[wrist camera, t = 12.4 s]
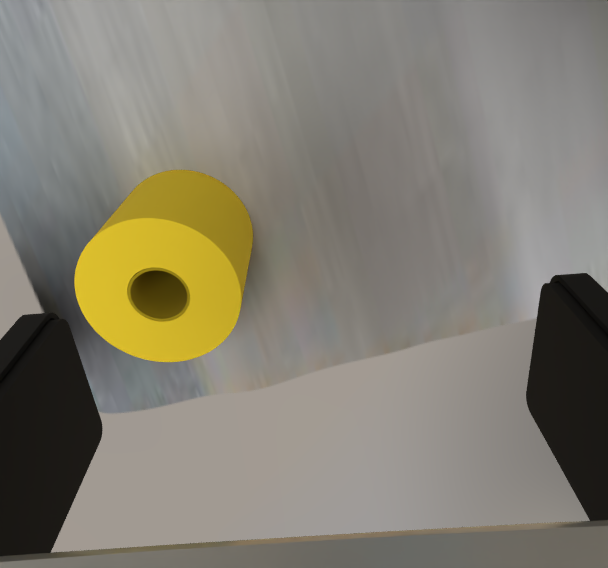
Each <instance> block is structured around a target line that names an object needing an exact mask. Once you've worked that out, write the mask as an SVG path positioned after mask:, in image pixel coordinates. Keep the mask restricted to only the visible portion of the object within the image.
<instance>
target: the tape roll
mask: <svg viewBox="0 0 608 568" xmlns="http://www.w3.org/2000/svg"><path fill="white" fill-rule="evenodd" d="M252 244H253V229H252V224H251V220H250V217H249V214H248V212H247V210H246V208H245V206H244V205H243V203H242V202H241V200H240V199H239V198H238V196H237V195H236V194H235V193H234V192H233V191H232V190H231V189H230V188H228V187H227V186H226V185H225V184H223V183H222V182H220V181H218V180H217V179H215V178H213V177H211V176H208V175H206V174H203V173H200V172H195V171H190V170H171V171H165V172H161V173H158V174H156V175H153V176H151V177H149V178H147V179H146V180H144V181H143V182H141V183H140V184H139V185H138V186H137V187H136V188H135V189H134V190H133V191H132V192H131V193H130V195H129V196H128V197H127V198H126V199H125V201H124V202H123V203H122V204H121V205H120V206H119V208H118V209H117V210H116V211H115V212H114V214H113V215H112V216H111V217H110V218H109V220H108V221H107V222H106V223H105V224H104V225H103V227H102V228H101V229H100V230H99V231H98V233H97V234H96V235H95V236H94V237H93V238H92V240H91V241H90V242H89V243H88V244H87V246H86V247H85V249H84V250H83V252H82V254H81V256H80V258H79V260H78V263H77V266H76V271H75V292H76V296H77V300H78V303H79V306H80V308H81V310H82V312H83V314H84V316H85V318H86V319H87V321H88V322H89V324H90V325H91V326H92V327H93V328H94V330H95V331H96V332H97V333H98V334H99V335H100V336H101V337H103V338H104V339H105V340H106V341H107V342H109V343H110V344H112V345H113V346H115V347H116V348H118V349H120V350H122V351H124V352H126V353H128V354H130V355H133V356H136V357H139V358H142V359H146V360H151V361H158V362H178V361H185V360H190V359H193V358H196V357H199V356H202V355H204V354H206V353H208V352H210V351H211V350H213V349H214V348H216V347H217V346H218V345H220V344H221V343H222V342H223V341H224V340H225V339H226V338H227V337H228V335H229V334H230V333H231V331H232V330H233V328H234V326H235V324H236V322H237V319H238V316H239V313H240V308H241V303H242V297H243V292H244V287H245V281H246V276H247V271H248V266H249V260H250V255H251V250H252Z"/></svg>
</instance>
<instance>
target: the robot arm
mask: <svg viewBox="0 0 608 568" xmlns="http://www.w3.org/2000/svg"><path fill="white" fill-rule="evenodd" d="M526 399H527V405H528V408H529V411H530V413H531V415H532V416H533V418H534V420H535V422H536V424H537V425H538V427H539V429H540V431H541V433H542V434H543V436H544V438H545V440H546V441H547V444H548V445H549V447H550V449H551V451H552V453H553V454H554V456H555V458H556V460H557V462H558V463H559V465H560V467H561V469H562V471H563V472H564V474H565V476H566V478H567V480H568V482H569V483H570V485H571V487H572V489H573V490H574V492H575V494H576V496H577V498H578V500H579V501H580V503H581V505H582V507H583V508H584V510H585V512H586V514H587V515H588V518H589V519H590V521H581V522H580V521H579V522H555V523H535V524H515V525H497V526H480V527H461V528H442V529H424V530H407V531H388V532H371V533H354V534H337V535H320V536H303V537H287V538H270V539H255V540H238V541H222V542H206V543H190V544H175V545H160V546H144V547H130V548H115V549H101V550H100V549H99V550H84V551H70V552H54V553H50V552H51V550H52V548H53V546H54V543H55V541H56V539H57V537H58V534H59V532H60V530H61V528H62V525H63V523H64V521H65V519H66V516H67V514H68V512H69V510H70V508H71V505H72V503H73V501H74V498H75V496H76V494H77V492H78V490H79V487H80V485H81V483H82V481H83V478H84V476H85V474H86V472H87V469H88V467H89V465H90V463H91V460H92V458H93V456H94V454H95V452H96V449H97V447H98V445H99V443H100V440H101V437H102V422H101V419H100V416H99V413H98V410H97V407H96V404H95V401H94V398H93V395H92V392H91V389H90V386H89V383H88V380H87V377H86V374H85V371H84V368H83V365H82V362H81V359H80V356H79V353H78V350H77V347H76V345H75V342H74V339H73V336H72V333H71V330H70V327H69V324H68V322H67V321H66V320H64V319H59V317H58V316H57V315H56V314H54V313H42V314H30V315H23V316H22V317H20V318H19V319H18V320H17V321H16V322H15V324H14V325H13V326H12V327H11V328H10V330H9V331H8V332H7V333H6V334H5V335H4V336H3V338H2V339H1V340H0V568H608V293H607V292H606V291H605V290H604V289H603V288H602V287H601V286H600V285H599V284H598V283H597V282H596V281H595V280H594V279H593V278H592V277H591V276H590V275H588V274H587V273H580V274H567V275H555V276H554V277H552V279H551V281H550V283H545V284H544V285H543V286H542V289H541V294H540V301H539V308H538V315H537V322H536V329H535V337H534V343H533V350H532V357H531V364H530V370H529V378H528V385H527V391H526Z"/></svg>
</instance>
